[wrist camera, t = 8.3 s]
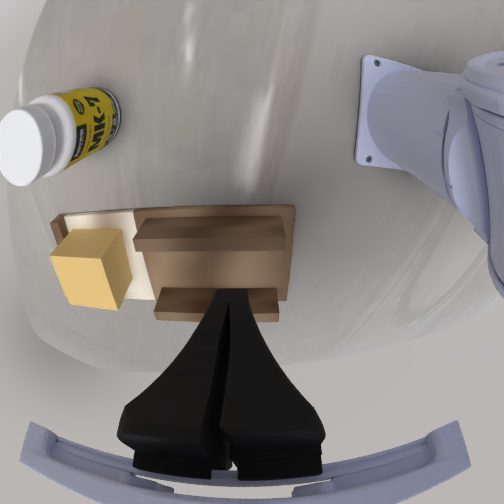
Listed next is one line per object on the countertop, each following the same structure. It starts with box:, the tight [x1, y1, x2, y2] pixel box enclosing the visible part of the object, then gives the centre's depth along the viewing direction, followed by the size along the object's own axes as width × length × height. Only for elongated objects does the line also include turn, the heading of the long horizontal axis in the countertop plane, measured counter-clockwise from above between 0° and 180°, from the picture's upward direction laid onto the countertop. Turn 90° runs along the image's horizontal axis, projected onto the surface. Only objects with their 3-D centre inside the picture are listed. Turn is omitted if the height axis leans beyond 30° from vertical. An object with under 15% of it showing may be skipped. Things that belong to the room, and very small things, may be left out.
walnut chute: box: [50, 205, 295, 322], centre depth 21 cm, size 20×9×4 cm, turn 90°
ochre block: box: [50, 229, 133, 310], centre depth 20 cm, size 5×5×4 cm
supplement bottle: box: [0, 88, 120, 186], centre depth 12 cm, size 5×5×8 cm
